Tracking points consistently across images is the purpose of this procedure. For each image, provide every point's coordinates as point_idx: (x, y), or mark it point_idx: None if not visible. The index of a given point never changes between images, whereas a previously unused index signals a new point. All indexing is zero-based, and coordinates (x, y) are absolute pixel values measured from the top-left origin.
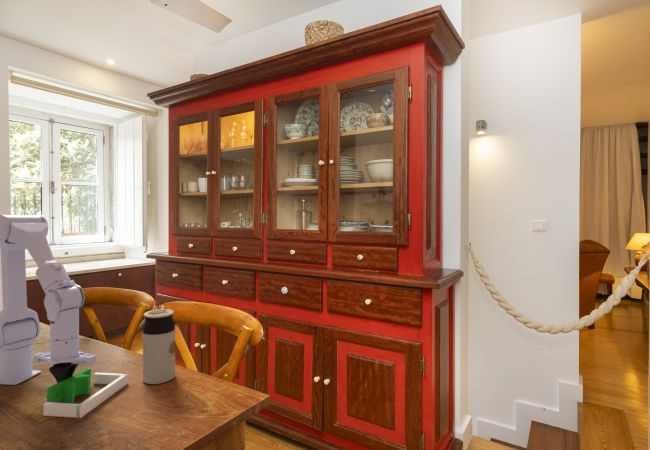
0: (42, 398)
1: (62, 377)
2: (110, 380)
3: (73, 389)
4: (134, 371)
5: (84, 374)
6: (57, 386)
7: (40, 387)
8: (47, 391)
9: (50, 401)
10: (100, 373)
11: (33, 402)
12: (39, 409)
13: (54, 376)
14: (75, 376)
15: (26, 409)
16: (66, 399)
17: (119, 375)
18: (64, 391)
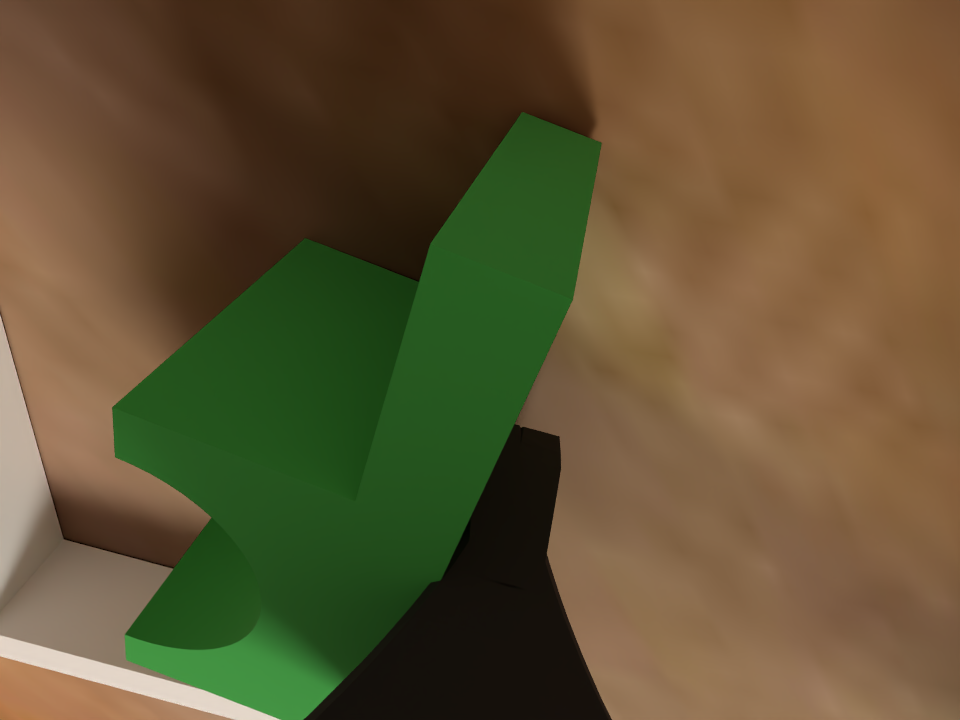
0: (791, 441)
1: (383, 644)
2: None
3: (183, 357)
4: (161, 711)
5: (228, 696)
6: (391, 382)
7: (906, 673)
8: (580, 257)
9: (518, 147)
10: (262, 717)
11: (886, 357)
12: (705, 104)
13: (591, 715)
14: (313, 673)
15: (941, 139)
16: (379, 291)
17: (15, 637)
18: (380, 377)
